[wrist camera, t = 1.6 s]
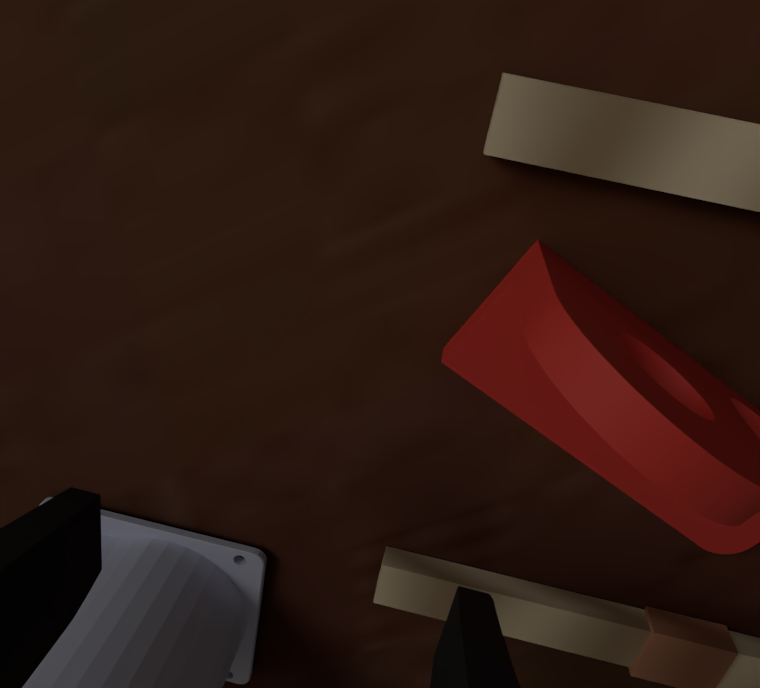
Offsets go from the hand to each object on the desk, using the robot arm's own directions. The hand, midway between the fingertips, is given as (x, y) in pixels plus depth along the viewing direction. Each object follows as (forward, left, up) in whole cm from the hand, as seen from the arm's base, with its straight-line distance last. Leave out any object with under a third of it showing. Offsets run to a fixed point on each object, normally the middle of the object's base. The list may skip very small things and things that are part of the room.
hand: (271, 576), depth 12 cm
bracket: (+9, +1, -10) cm, 13 cm away
